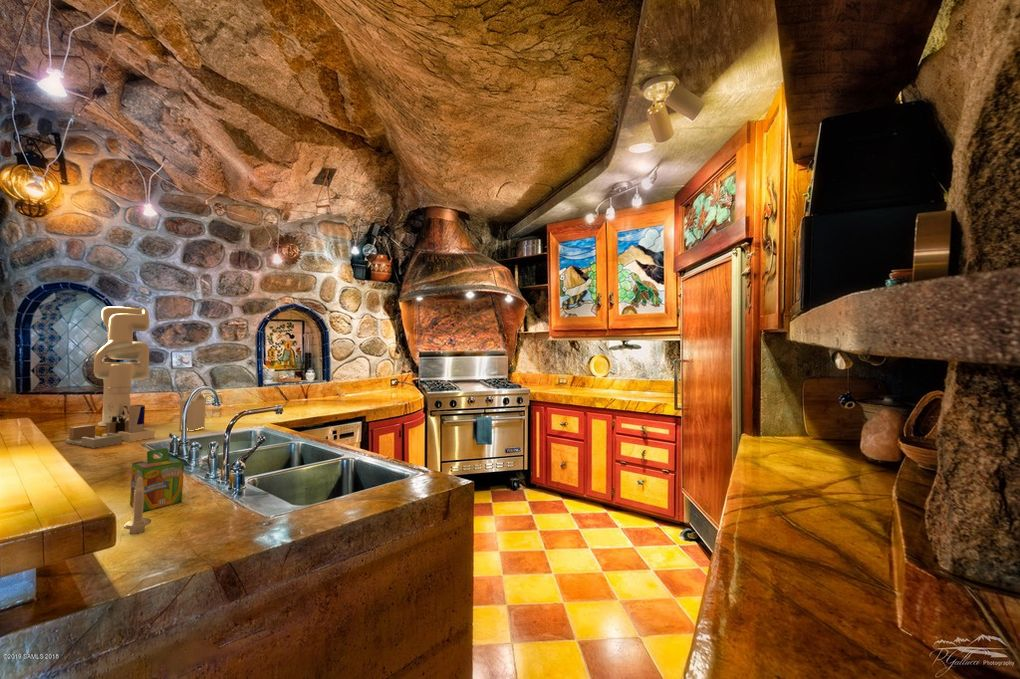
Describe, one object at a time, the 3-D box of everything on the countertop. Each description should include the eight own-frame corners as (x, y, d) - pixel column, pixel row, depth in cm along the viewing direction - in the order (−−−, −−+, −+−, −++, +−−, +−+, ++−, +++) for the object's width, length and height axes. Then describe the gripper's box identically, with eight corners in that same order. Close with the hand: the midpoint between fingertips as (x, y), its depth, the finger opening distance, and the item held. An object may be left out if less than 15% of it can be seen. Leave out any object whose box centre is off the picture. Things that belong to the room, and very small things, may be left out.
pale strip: (102, 436, 182) (102, 423, 182) (127, 433, 191) (128, 419, 191) (129, 442, 175) (130, 427, 175) (154, 437, 184) (155, 424, 184)
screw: (135, 527, 99) (156, 527, 99) (117, 536, 94) (138, 536, 94) (138, 473, 99) (158, 473, 99) (120, 479, 94) (141, 480, 94)
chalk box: (140, 513, 107) (143, 456, 107) (128, 505, 111) (131, 450, 112) (183, 502, 114) (186, 449, 115) (170, 495, 119) (172, 444, 120)
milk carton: (193, 431, 198) (195, 392, 198) (178, 431, 198) (180, 392, 198) (204, 428, 205) (206, 391, 205) (190, 428, 205) (192, 390, 205)
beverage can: (146, 438, 183) (147, 404, 183) (132, 440, 178) (134, 406, 178) (138, 437, 184) (140, 403, 185) (125, 439, 179) (126, 405, 180)
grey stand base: (65, 442, 171) (66, 427, 171) (94, 438, 179) (94, 424, 179) (93, 448, 164) (94, 432, 164) (121, 443, 172) (122, 428, 173)
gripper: (98, 390, 186) (96, 430, 185) (120, 392, 180) (118, 434, 180) (118, 388, 193) (116, 427, 192) (140, 391, 187) (138, 431, 187)
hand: (117, 430), depth 186 cm, fingers closed on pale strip, 3 cm apart
